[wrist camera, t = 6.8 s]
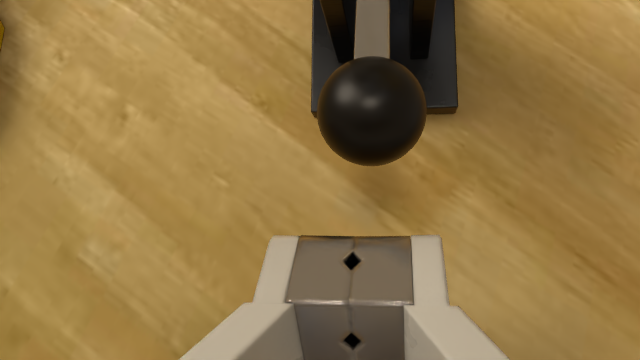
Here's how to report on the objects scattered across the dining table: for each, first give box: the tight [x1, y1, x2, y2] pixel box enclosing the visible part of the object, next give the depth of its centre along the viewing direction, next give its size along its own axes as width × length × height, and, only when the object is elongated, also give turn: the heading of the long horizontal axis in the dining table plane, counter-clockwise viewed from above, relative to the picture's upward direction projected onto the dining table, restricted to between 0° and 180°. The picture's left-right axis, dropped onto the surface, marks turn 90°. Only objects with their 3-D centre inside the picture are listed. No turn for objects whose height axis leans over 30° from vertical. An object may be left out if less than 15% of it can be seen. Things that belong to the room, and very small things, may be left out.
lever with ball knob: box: [317, 0, 427, 166], centre depth 18 cm, size 13×3×3 cm, turn 179°
